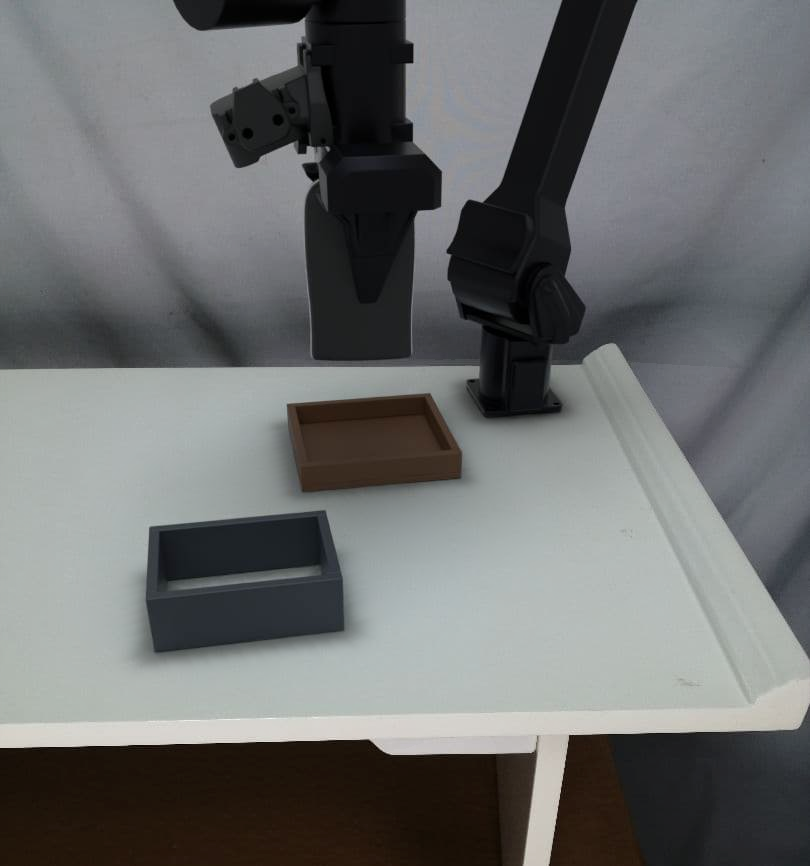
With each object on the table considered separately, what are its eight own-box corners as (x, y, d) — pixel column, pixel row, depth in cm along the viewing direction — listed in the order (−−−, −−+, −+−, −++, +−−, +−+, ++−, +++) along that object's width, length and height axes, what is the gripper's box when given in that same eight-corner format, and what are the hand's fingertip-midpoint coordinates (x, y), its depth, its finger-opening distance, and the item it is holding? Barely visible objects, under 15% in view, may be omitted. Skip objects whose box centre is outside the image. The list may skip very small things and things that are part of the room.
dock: (157, 576, 56) (148, 526, 54) (327, 558, 58) (325, 509, 56) (154, 652, 50) (145, 599, 48) (344, 630, 52) (342, 578, 50)
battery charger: (409, 345, 66) (410, 169, 60) (415, 361, 62) (417, 177, 57) (308, 348, 65) (300, 170, 60) (308, 364, 62) (301, 178, 56)
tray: (288, 427, 73) (286, 403, 72) (429, 415, 75) (430, 392, 74) (302, 492, 65) (300, 466, 64) (461, 477, 67) (462, 452, 66)
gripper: (205, 8, 60) (230, 256, 68) (216, 40, 44) (246, 354, 53) (379, 6, 62) (382, 247, 70) (447, 35, 46) (440, 340, 55)
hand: (361, 291), depth 62 cm, fingers closed on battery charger, 4 cm apart
